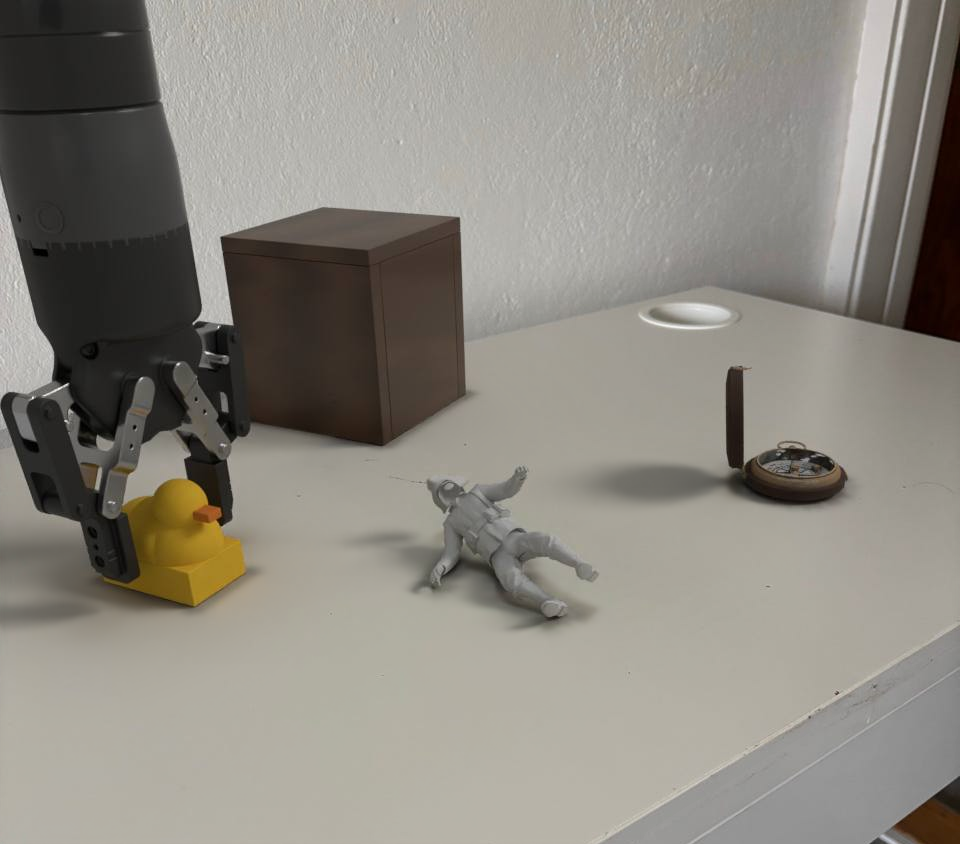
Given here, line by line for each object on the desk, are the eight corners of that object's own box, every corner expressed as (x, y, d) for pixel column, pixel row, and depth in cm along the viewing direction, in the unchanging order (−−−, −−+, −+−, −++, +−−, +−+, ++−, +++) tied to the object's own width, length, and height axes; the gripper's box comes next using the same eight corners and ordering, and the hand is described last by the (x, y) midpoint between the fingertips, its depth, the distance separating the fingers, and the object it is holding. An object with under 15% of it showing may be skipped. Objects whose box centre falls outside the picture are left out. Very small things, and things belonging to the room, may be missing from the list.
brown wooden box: (247, 420, 76) (219, 236, 70) (339, 374, 85) (322, 206, 78) (383, 445, 72) (368, 250, 65) (466, 393, 80) (460, 216, 74)
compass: (850, 507, 61) (872, 387, 57) (715, 499, 63) (727, 382, 59) (839, 456, 68) (857, 346, 64) (716, 450, 69) (727, 342, 66)
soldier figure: (504, 658, 50) (360, 516, 55) (540, 676, 54) (403, 542, 60) (611, 537, 49) (454, 403, 54) (639, 564, 53) (491, 438, 59)
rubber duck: (103, 581, 56) (78, 480, 53) (158, 549, 59) (137, 452, 56) (201, 609, 53) (181, 504, 50) (253, 574, 56) (237, 473, 53)
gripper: (151, 189, 53) (205, 487, 62) (-95, 243, 42) (12, 594, 51) (267, 197, 50) (306, 510, 59) (33, 257, 39) (124, 628, 48)
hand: (169, 548), depth 55 cm, fingers open, 6 cm apart
